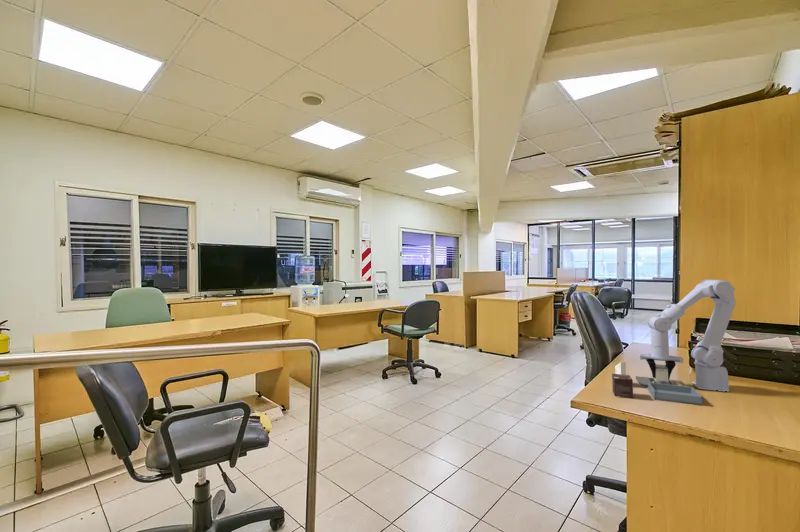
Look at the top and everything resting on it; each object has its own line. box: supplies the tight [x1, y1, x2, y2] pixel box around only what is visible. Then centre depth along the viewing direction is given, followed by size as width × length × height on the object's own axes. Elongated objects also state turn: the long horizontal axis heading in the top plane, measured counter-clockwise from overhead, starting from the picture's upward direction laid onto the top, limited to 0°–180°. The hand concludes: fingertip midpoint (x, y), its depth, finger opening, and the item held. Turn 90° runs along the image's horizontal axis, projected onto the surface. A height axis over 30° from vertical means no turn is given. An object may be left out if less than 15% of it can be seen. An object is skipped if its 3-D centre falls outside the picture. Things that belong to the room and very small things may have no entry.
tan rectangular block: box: [653, 363, 669, 383], centre depth 140 cm, size 4×4×8 cm
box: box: [611, 373, 634, 399], centre depth 131 cm, size 6×6×7 cm
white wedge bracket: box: [614, 361, 627, 375], centre depth 142 cm, size 4×10×9 cm
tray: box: [647, 382, 704, 406], centre depth 127 cm, size 14×11×3 cm
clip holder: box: [635, 375, 687, 388], centre depth 140 cm, size 16×11×3 cm
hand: (660, 377), depth 140 cm, fingers closed on tan rectangular block, 4 cm apart
